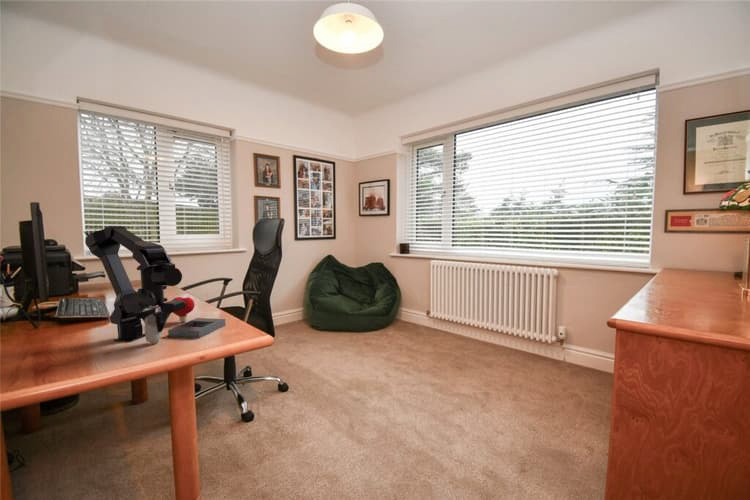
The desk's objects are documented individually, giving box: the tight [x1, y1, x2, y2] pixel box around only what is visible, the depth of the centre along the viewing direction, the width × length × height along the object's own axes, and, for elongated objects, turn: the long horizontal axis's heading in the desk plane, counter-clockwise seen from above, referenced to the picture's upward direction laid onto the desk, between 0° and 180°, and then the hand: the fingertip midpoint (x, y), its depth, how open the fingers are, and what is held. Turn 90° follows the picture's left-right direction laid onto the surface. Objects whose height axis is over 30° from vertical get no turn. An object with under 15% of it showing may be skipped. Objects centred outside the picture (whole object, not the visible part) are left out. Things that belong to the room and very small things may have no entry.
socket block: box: [167, 317, 226, 339], centre depth 114 cm, size 12×14×2 cm
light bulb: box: [172, 296, 196, 324], centre depth 124 cm, size 9×7×10 cm
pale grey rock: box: [143, 314, 163, 345], centre depth 102 cm, size 6×4×10 cm, turn 172°
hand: (155, 331), depth 102 cm, fingers open, 3 cm apart
